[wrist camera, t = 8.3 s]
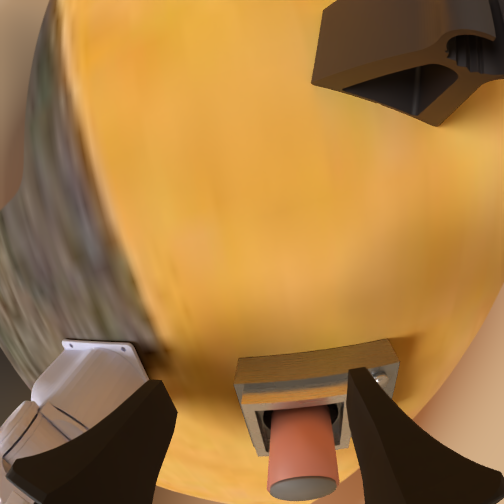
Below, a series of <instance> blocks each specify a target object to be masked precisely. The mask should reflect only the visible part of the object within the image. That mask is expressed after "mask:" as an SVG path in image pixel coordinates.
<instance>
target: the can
mask: <svg viewBox="0 0 504 504" xmlns="http://www.w3.org/2000/svg"><path fill="white" fill-rule="evenodd" d="M338 485H339V475H338V467H337V459H336V451H335V444H334V437H333V430H332V423H331V416H330V410H329V407H328V406H327V405H318V406H310V407H301V408H291V409H279V410H273V412H272V415H271V434H270V451H269V466H268V481H267V490H268V492H269V493H270V494H271V495H272V496H273V497H275V498H278V499H281V500H287V501H306V500H312V499H317V498H321V497H324V496H326V495H329V494H331V493H332V492H334V490H336V487H337V486H338Z"/></svg>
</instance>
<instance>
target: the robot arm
mask: <svg viewBox="0 0 504 504" xmlns="http://www.w3.org/2000/svg"><path fill="white" fill-rule="evenodd" d="M62 345H63V347H64V349H65V350H64V351H63V352H62V353H61V354H60V355H59V356H58V357H57V358H56V359H55V360H54V362H53V363H52V364H51V365H50V366H49V367H48V368H47V369H46V370H45V371H44V372H43V373H42V375H41V376H40V377H39V378H38V379H37V380H36V382H35V384H34V386H33V389H32V394H31V401H24V402H23V403H22V404H21V405H20V406H19V407H18V408H17V409H16V410H15V411H14V412H13V413H12V414H11V415H10V416H9V418H8V419H7V420H6V421H5V422H4V424H3V425H2V426H1V428H0V504H152V501H153V495H154V491H155V486H156V481H157V478H158V474H159V471H160V469H161V466H162V463H163V461H164V458H165V455H166V452H167V450H168V447H169V444H170V441H171V439H172V436H173V433H174V428H175V424H176V418H177V413H178V412H177V410H176V408H175V406H174V404H173V402H172V400H171V398H170V396H169V394H168V392H167V390H166V388H165V386H164V384H163V382H162V380H149V378H148V376H147V374H146V372H145V370H144V368H143V366H142V364H141V361H140V359H139V357H138V355H137V353H136V350H135V348H134V346H133V345H132V344H130V343H121V342H97V341H81V340H68V339H64V340H63V341H62ZM346 408H347V415H348V422H349V428H350V432H351V435H352V439H353V443H354V447H355V450H356V454H357V458H358V462H359V466H360V470H361V474H362V479H363V487H364V496H365V504H496V503H498V502H499V501H500V500H502V499H503V498H504V477H503V475H502V473H501V472H499V471H497V470H494V469H491V468H488V467H485V466H483V465H480V464H478V463H476V462H473V461H471V460H469V459H467V458H465V457H463V456H461V455H460V454H458V453H456V452H454V451H453V450H451V449H450V448H448V447H446V446H444V445H443V444H442V443H440V442H439V441H437V440H436V439H434V438H433V437H431V436H430V435H429V434H428V433H427V432H425V431H424V430H423V429H422V428H421V427H419V426H418V425H417V424H416V423H415V422H414V421H413V420H412V419H411V418H409V417H408V416H407V415H406V414H405V413H404V412H403V411H402V410H401V409H400V408H399V407H398V405H397V404H396V403H395V402H394V401H393V400H392V399H391V398H390V397H389V396H388V394H387V393H386V392H385V391H384V390H383V389H382V387H381V386H380V385H379V384H378V382H377V381H376V380H375V379H374V377H373V376H372V375H371V373H370V372H369V371H368V369H367V368H366V367H360V368H355V369H349V370H348V385H347V397H346Z"/></svg>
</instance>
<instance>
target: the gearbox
mask: <svg viewBox="0 0 504 504" xmlns="http://www.w3.org/2000/svg"><path fill="white" fill-rule="evenodd" d="M399 364H400V361H399V359H398V357H397V355H396V353H395V351H394V350H393V348H392V346H391V344H390V342H389V340H388V339H384V340H379V341H374V342H369V343H363V344H358V345H352V346H346V347H340V348H333V349H327V350H319V351H312V352H304V353H295V354H286V355H276V356H264V357H251V358H239V360H238V365H237V370H236V375H235V380H234V387H235V390H236V394H237V397H238V400H239V403H240V407H241V410H242V413H243V416H244V419H245V422H246V425H247V428H248V431H249V434H250V437H251V440H252V443H253V446H254V447H255V449H256V452H257V455H258V456H269V451H270V434H271V415H272V412H273V410H279V409H291V408H301V407H310V406H318V405H327V406H328V407H329V410H330V416H331V423H332V430H333V437H334V444H335V450H338V449H344V448H348V447H349V441H350V437H352V435H351V432H350V428H349V422H348V415H347V408H346V397H347V385H348V370H349V369H355V368H360V367H366V368H367V369H368V371H369V372H370V373H371V375H372V376H373V377H374V379H375V380H376V381H377V382H378V384H379V385H380V386H381V387H382V389H383V390H384V391H385V392H386V393H387V394H388V396H389V397H390V398H391V399H392V396H393V392H394V388H395V383H396V379H397V374H398V369H399Z"/></svg>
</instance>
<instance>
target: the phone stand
mask: <svg viewBox="0 0 504 504" xmlns="http://www.w3.org/2000/svg"><path fill="white" fill-rule="evenodd" d="M498 79H504V0H337V1H335V2H334V3H332V4H331V5H330V6H328V7H327V8H325V9H324V10H323V14H322V21H321V27H320V33H319V39H318V46H317V52H316V58H315V63H314V69H313V75H312V81H311V84H313V85H315V86H319V87H323V88H327V89H331V90H335V91H339V92H342V93H346V94H349V95H353V96H356V97H359V98H362V99H365V100H368V101H371V102H374V103H380V104H381V105H383V106H386V107H388V108H391V109H394V110H396V111H399V112H401V113H404V114H406V115H409V116H411V117H414V118H416V119H418V120H421V121H423V122H425V123H427V124H430V125H432V126H439V125H440V124H441V123H442V122H443V121H444V120H445V119H446V118H447V117H448V116H449V115H450V114H452V113H453V112H454V111H455V110H456V109H457V108H458V107H459V106H460V105H461V104H462V103H463V102H464V101H465V100H466V99H467V98H468V97H469V96H470V95H471V94H472V93H473V92H474V91H475V90H476V89H477V88H478V87H480V86H481V85H482V84H484V83H486V82H489V81H492V80H498Z"/></svg>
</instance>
